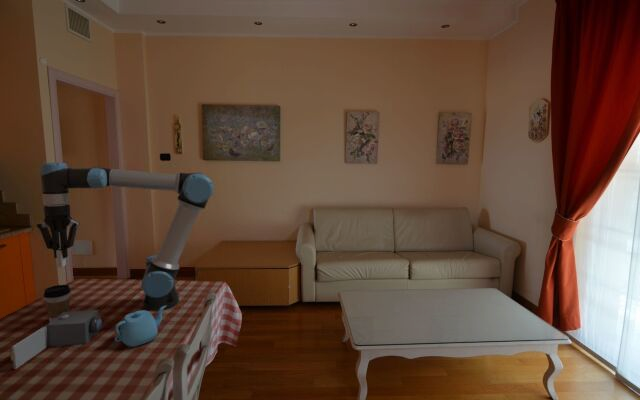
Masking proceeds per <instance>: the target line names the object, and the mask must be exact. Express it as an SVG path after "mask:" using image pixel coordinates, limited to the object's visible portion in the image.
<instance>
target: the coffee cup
mask: <svg viewBox="0 0 640 400" xmlns="http://www.w3.org/2000/svg"><path fill="white" fill-rule="evenodd" d="M70 293H72V292H71V288H70V285H68V284H57V285H53V286H49V287H46V288H45V289H44V293H43V298H44V301H45V302H44V303H45V307H46V312H47V316H48V322H49V323H50V322H51V321H53V320H54V319H55V318H56V317H58V316H59V315H60V314H62V313H63V312H70V305H71V304H70V303H71V302H70V301H71V297H70Z"/></svg>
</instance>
